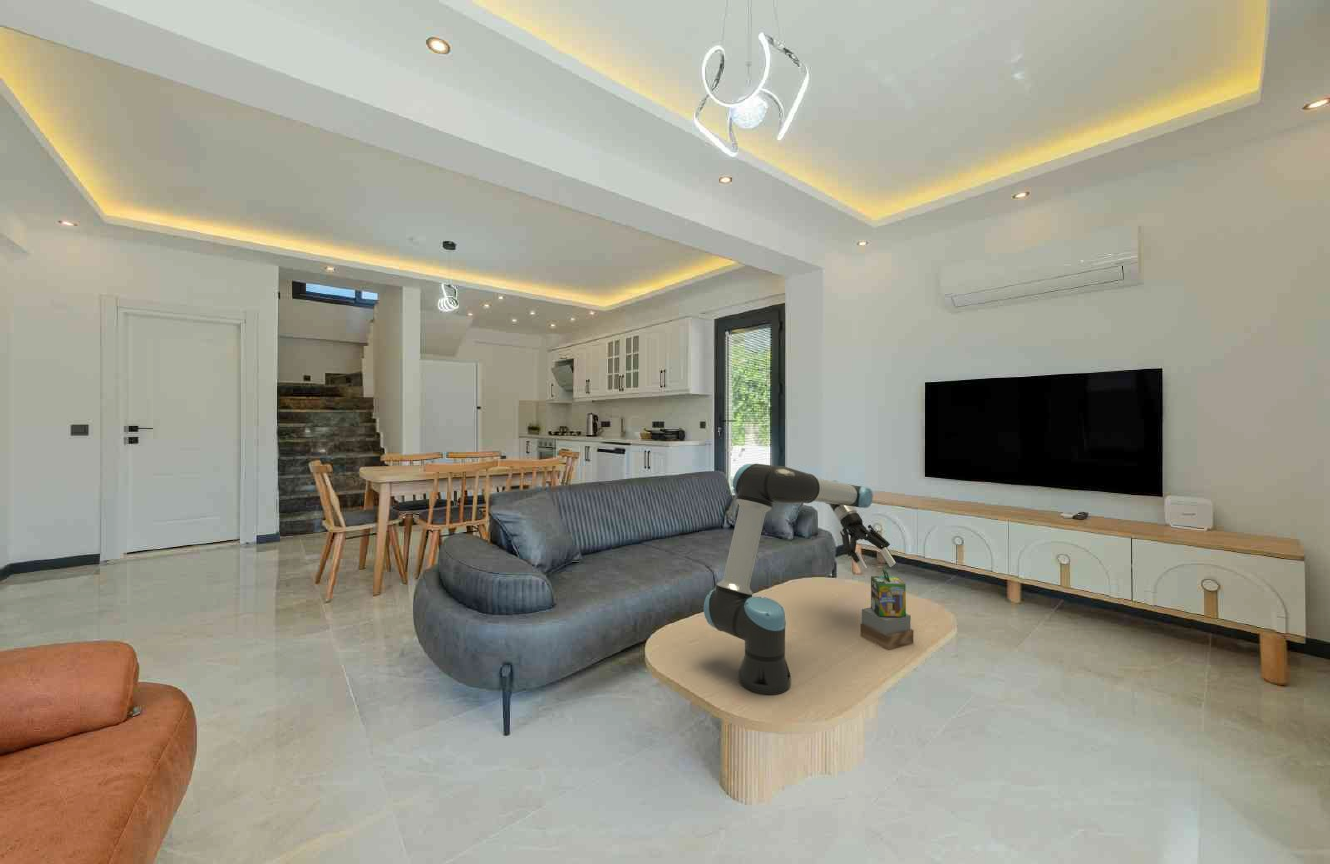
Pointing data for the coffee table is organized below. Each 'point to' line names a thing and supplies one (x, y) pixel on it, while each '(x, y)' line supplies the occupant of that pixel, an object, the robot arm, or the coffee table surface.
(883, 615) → the chalk box
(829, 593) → the coffee table surface
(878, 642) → the tower bottom slab
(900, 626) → the tower top slab
